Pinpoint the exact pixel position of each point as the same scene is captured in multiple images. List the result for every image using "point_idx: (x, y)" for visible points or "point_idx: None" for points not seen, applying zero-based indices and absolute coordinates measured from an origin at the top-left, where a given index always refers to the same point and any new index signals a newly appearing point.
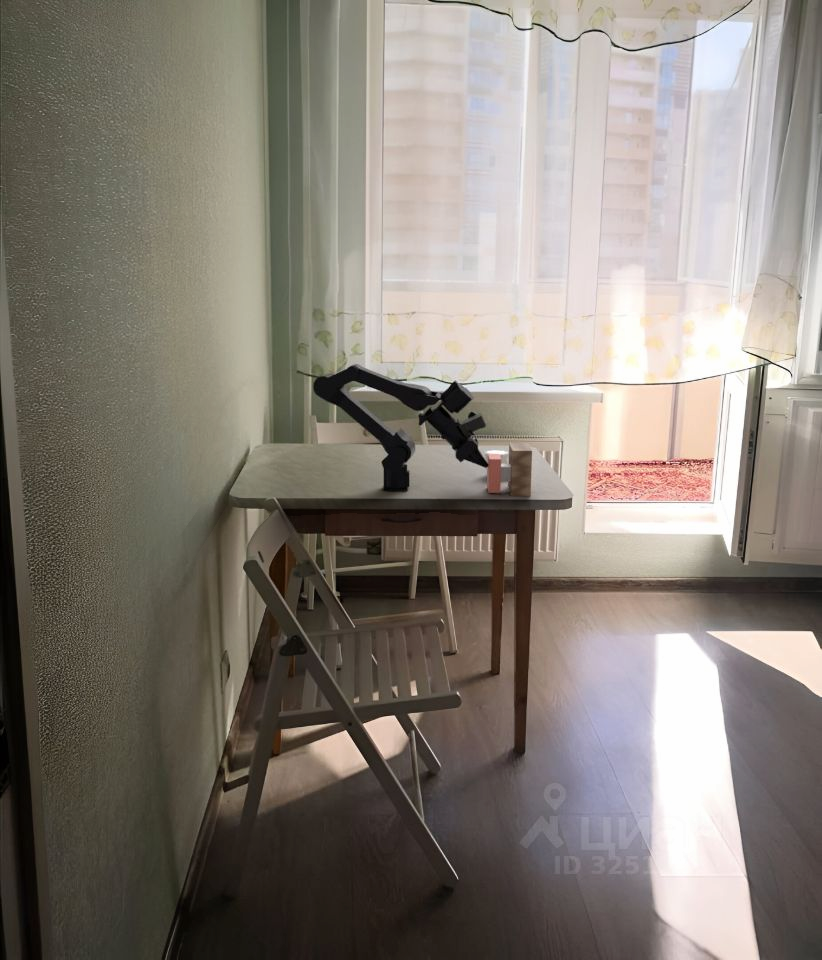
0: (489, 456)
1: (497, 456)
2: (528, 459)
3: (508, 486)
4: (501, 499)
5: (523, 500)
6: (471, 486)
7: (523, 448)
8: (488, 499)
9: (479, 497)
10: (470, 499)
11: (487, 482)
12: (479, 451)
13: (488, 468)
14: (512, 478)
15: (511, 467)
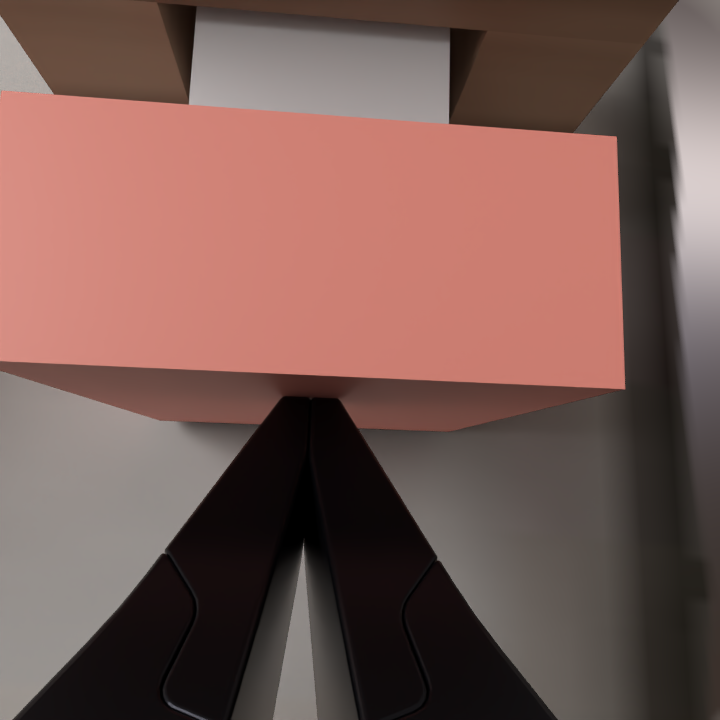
0: (332, 357)
1: (328, 172)
2: None
3: None
4: (629, 329)
5: (651, 138)
6: (87, 594)
7: None
8: (636, 455)
9: (565, 541)
10: (648, 644)
11: (215, 418)
12: (255, 645)
13: None
14: (570, 124)
15: (533, 43)
